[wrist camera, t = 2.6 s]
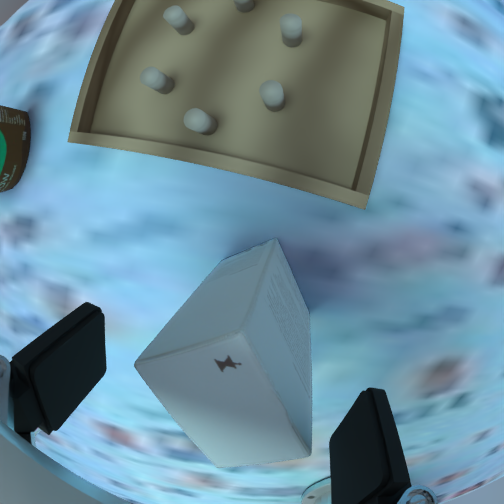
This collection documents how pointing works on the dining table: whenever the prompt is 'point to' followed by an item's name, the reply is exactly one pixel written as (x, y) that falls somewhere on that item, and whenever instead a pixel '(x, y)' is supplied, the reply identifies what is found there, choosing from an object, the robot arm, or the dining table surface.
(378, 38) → the pin tray
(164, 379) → the skincare box
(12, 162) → the food container
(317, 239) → the dining table surface
